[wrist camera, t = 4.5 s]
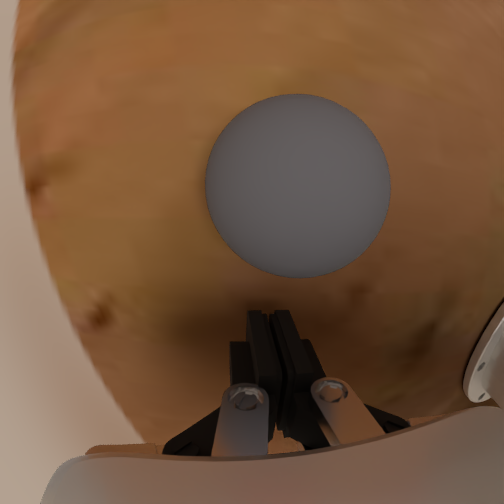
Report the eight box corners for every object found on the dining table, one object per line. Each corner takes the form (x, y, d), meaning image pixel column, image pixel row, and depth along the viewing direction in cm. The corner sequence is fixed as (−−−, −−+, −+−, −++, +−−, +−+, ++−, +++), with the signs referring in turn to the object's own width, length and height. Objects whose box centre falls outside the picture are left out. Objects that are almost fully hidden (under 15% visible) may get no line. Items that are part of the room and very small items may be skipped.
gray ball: (368, 198, 12) (453, 230, 7) (262, 271, 12) (289, 351, 7) (298, 85, 10) (356, 36, 5) (181, 162, 11) (142, 167, 5)
